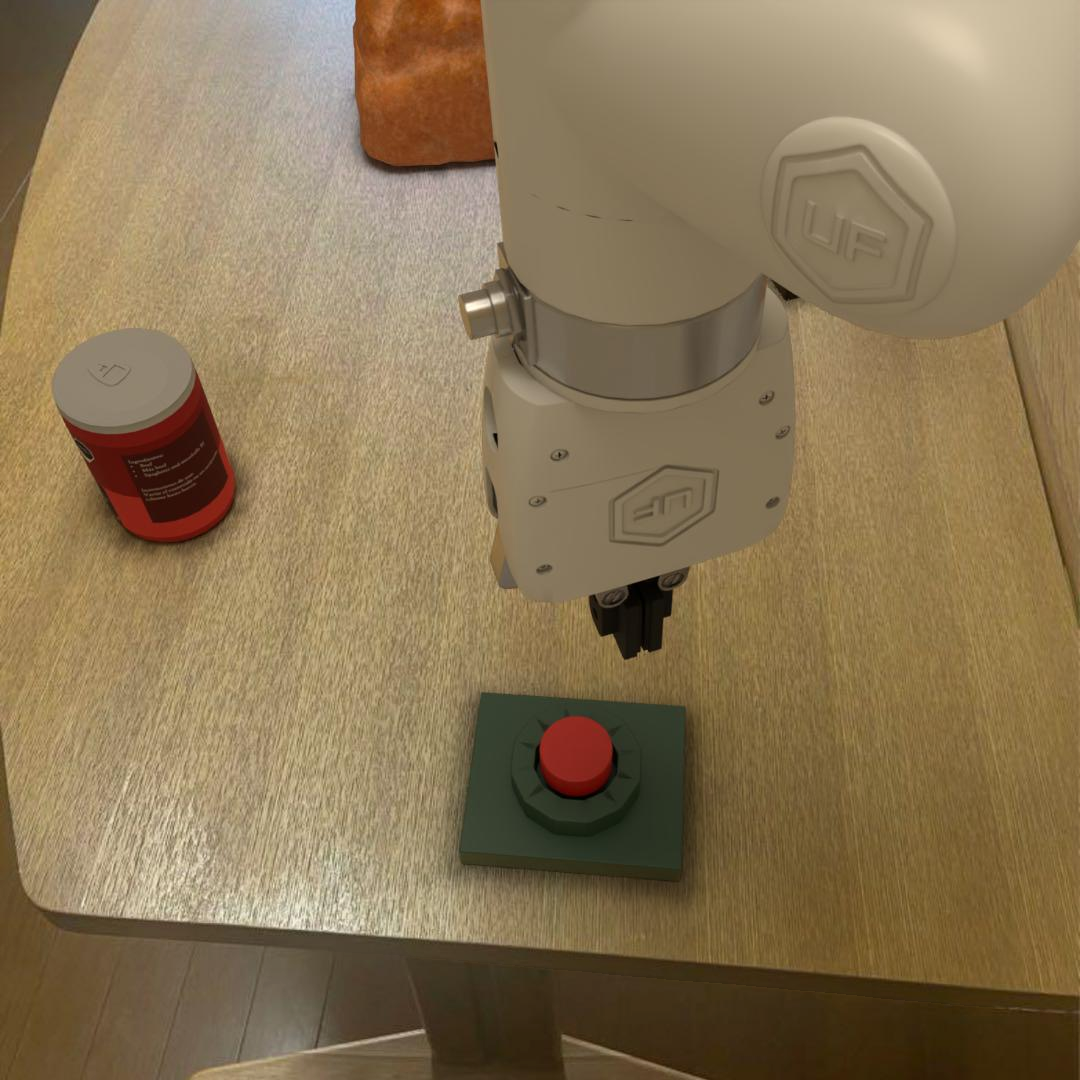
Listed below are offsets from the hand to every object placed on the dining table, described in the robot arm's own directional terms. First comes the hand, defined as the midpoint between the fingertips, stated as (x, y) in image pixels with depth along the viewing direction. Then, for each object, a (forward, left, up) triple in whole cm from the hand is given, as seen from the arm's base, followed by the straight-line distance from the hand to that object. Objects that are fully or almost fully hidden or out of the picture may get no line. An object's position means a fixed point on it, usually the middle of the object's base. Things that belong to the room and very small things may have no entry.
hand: (629, 626), depth 49 cm
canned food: (+34, 0, -16) cm, 38 cm away
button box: (+2, +1, -16) cm, 16 cm away
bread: (+41, -44, -16) cm, 62 cm away
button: (+2, +1, -13) cm, 13 cm away
